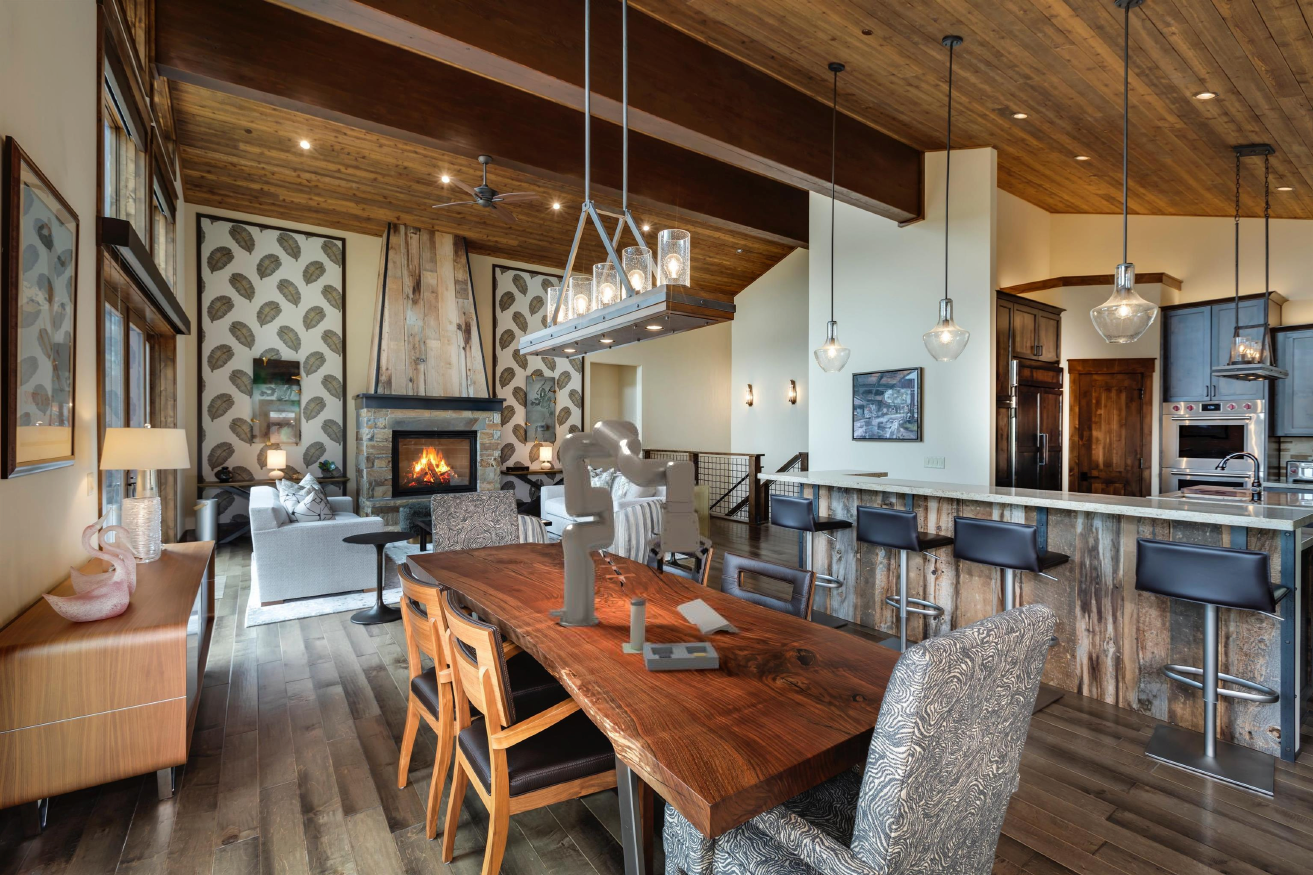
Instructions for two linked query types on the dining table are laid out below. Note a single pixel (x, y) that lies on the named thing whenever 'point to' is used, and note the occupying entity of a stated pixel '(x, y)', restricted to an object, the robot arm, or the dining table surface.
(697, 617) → the crown molding
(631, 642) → the plug
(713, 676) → the dining table surface
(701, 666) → the socket block
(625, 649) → the square base plate
